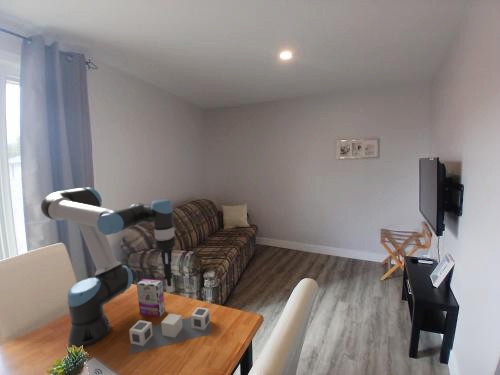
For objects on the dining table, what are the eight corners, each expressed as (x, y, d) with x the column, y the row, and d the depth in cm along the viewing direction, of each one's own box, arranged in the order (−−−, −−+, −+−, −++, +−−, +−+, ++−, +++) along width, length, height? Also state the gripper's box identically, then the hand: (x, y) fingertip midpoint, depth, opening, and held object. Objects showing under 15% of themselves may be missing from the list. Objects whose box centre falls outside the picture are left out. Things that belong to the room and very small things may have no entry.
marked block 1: (130, 343, 100) (128, 329, 99) (140, 332, 106) (139, 319, 105) (143, 346, 98) (141, 332, 97) (153, 335, 104) (151, 322, 103)
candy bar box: (165, 311, 121) (163, 280, 118) (159, 318, 116) (157, 285, 113) (146, 308, 123) (143, 278, 121) (139, 315, 118) (136, 283, 116)
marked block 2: (191, 328, 108) (190, 315, 107) (198, 318, 114) (197, 306, 113) (204, 330, 106) (203, 317, 105) (210, 321, 112) (209, 308, 111)
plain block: (162, 335, 104) (161, 322, 103) (170, 325, 110) (169, 313, 109) (174, 337, 102) (173, 324, 102) (182, 327, 108) (181, 315, 107)
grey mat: (129, 355, 95) (129, 354, 95) (134, 330, 108) (134, 329, 108) (212, 334, 104) (212, 333, 104) (207, 314, 118) (207, 313, 118)
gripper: (175, 241, 95) (179, 298, 98) (174, 231, 107) (178, 282, 111) (154, 244, 93) (160, 302, 96) (156, 234, 105) (161, 285, 108)
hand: (170, 291), depth 103 cm, fingers closed
